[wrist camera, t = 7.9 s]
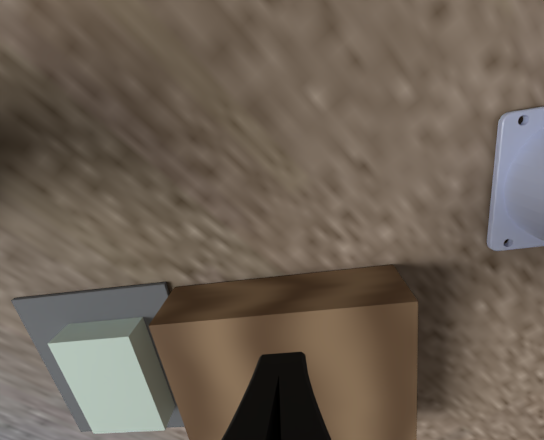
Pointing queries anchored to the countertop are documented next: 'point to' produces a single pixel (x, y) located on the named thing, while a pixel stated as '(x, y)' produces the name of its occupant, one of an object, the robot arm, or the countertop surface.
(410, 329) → the tan square board
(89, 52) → the countertop surface
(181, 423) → the mat
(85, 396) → the pale green rectangular block
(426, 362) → the countertop surface
